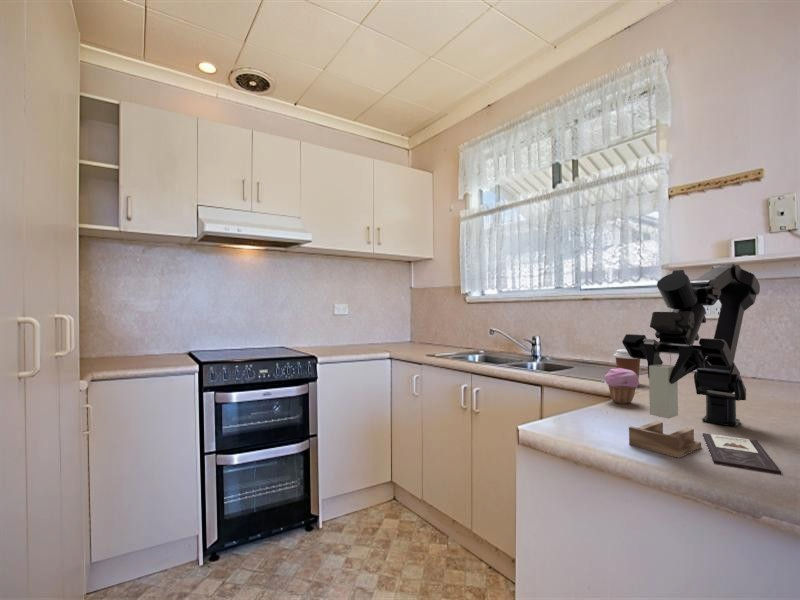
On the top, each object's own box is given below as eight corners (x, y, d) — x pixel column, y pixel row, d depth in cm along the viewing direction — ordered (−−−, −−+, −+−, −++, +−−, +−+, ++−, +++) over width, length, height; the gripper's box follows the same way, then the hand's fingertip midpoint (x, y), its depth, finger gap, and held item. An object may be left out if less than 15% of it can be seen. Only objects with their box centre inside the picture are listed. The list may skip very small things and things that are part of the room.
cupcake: (601, 398, 123) (600, 365, 123) (631, 399, 121) (631, 366, 121) (612, 405, 114) (611, 370, 114) (644, 406, 113) (644, 370, 113)
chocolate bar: (713, 460, 72) (702, 433, 87) (713, 465, 72) (702, 437, 87) (781, 471, 67) (756, 440, 83) (781, 477, 67) (757, 444, 83)
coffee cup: (642, 386, 139) (642, 352, 139) (612, 384, 144) (612, 350, 144) (642, 382, 147) (642, 349, 147) (614, 380, 151) (614, 348, 152)
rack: (652, 435, 88) (652, 419, 88) (701, 447, 80) (701, 430, 80) (629, 444, 82) (629, 427, 82) (678, 458, 75) (678, 439, 75)
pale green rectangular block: (659, 411, 84) (658, 363, 84) (677, 415, 81) (677, 366, 81) (649, 414, 82) (649, 365, 82) (668, 418, 79) (668, 367, 79)
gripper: (625, 298, 91) (599, 350, 85) (725, 297, 76) (702, 360, 70) (643, 331, 96) (619, 383, 90) (741, 336, 80) (720, 399, 74)
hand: (660, 380), depth 81 cm, fingers closed on pale green rectangular block, 3 cm apart
